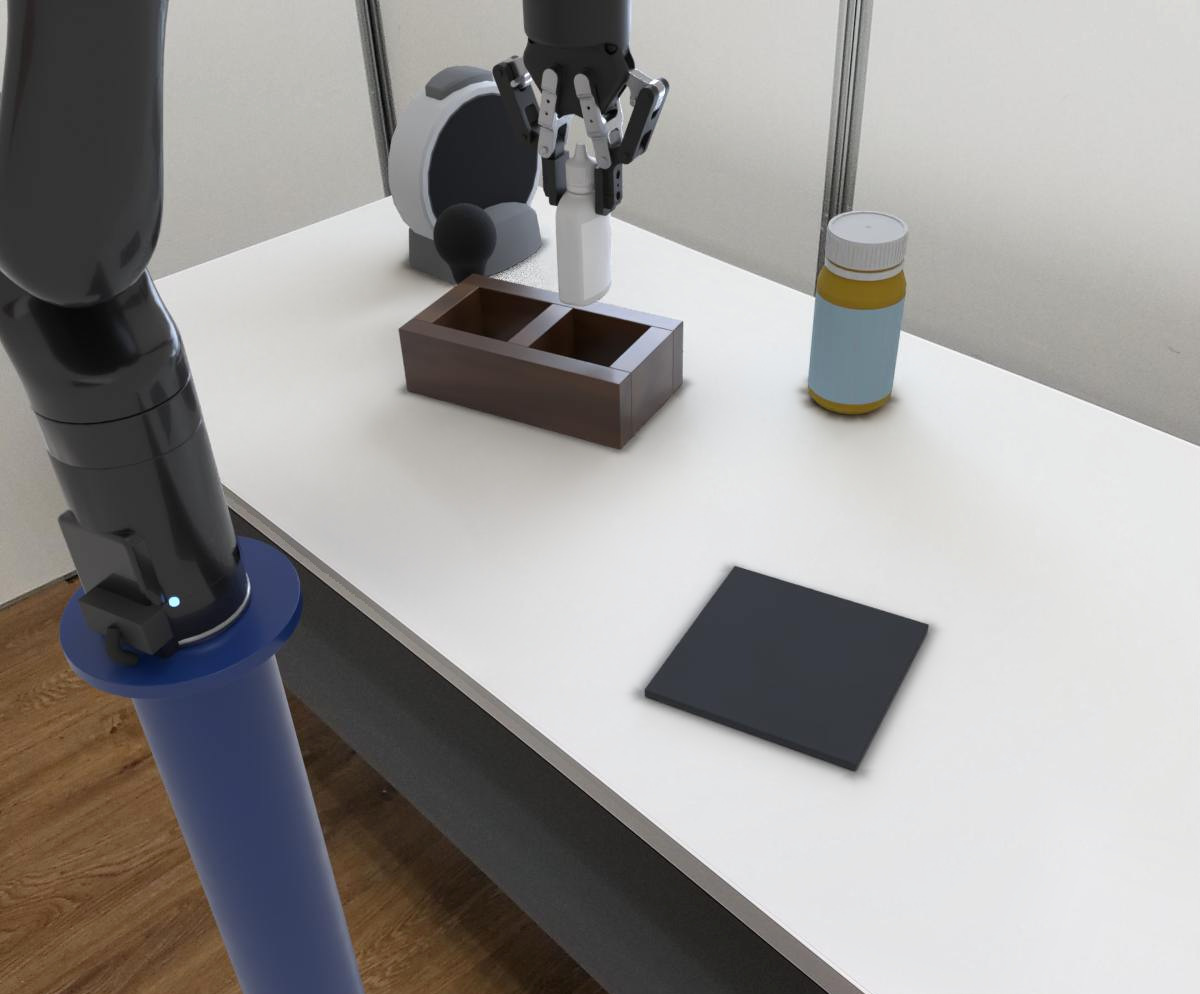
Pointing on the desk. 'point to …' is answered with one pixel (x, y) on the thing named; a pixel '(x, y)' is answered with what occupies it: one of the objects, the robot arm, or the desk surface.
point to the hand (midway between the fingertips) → (583, 206)
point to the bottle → (858, 312)
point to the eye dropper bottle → (582, 236)
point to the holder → (544, 359)
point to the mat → (790, 665)
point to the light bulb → (465, 239)
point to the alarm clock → (463, 168)
